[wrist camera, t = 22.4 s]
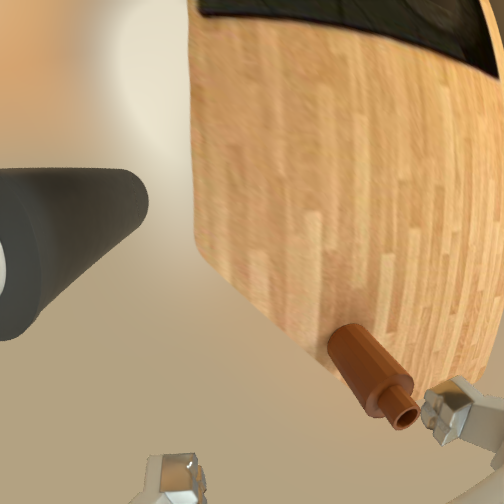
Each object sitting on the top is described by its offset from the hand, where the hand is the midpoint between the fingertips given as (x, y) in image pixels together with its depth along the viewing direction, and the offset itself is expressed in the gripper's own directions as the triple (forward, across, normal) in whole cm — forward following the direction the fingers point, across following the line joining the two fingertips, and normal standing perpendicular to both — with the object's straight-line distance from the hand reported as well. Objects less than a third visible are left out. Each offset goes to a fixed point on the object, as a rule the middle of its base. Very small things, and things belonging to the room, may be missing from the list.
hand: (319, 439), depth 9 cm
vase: (+29, -13, +17) cm, 36 cm away
